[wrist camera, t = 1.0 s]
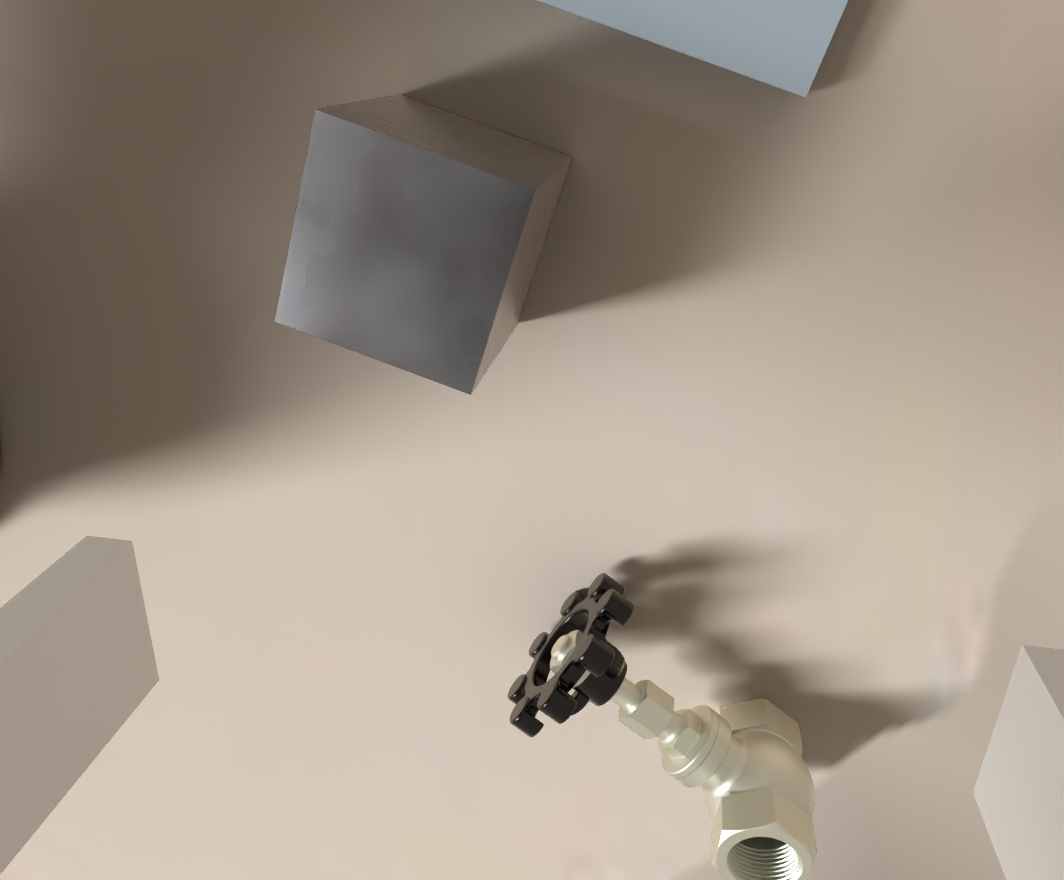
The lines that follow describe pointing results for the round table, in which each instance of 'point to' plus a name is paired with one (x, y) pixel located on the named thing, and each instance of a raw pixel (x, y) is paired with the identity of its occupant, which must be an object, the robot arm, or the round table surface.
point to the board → (729, 32)
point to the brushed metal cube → (417, 236)
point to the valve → (684, 740)
